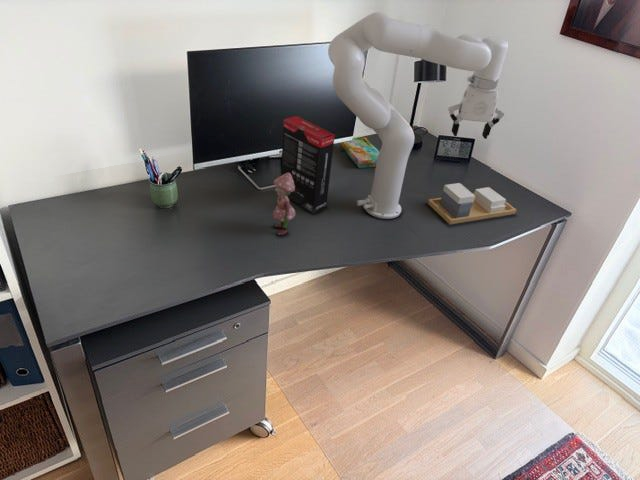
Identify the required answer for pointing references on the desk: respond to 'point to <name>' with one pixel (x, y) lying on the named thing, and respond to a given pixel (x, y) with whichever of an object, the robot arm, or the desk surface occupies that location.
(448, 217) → the desk tray
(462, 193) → the white rectangular lid
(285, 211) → the cartoon character
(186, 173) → the desk surface
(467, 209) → the grey book
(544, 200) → the desk surface
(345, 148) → the puzzle game
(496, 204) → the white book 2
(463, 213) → the blue-gray box
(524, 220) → the desk surface
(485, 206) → the white book
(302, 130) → the graphics card box
